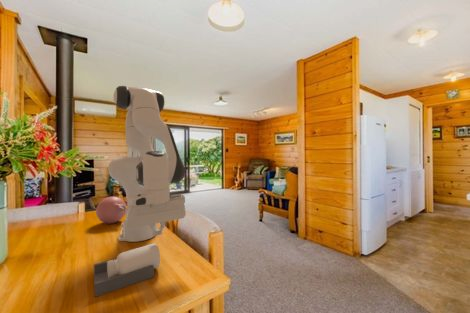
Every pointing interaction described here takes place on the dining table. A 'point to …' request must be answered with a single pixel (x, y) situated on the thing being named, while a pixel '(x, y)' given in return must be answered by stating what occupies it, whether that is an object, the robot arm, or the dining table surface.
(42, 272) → the dining table surface
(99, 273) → the u rest
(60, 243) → the dining table surface
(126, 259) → the pill bottle
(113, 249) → the dining table surface
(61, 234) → the dining table surface
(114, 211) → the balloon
